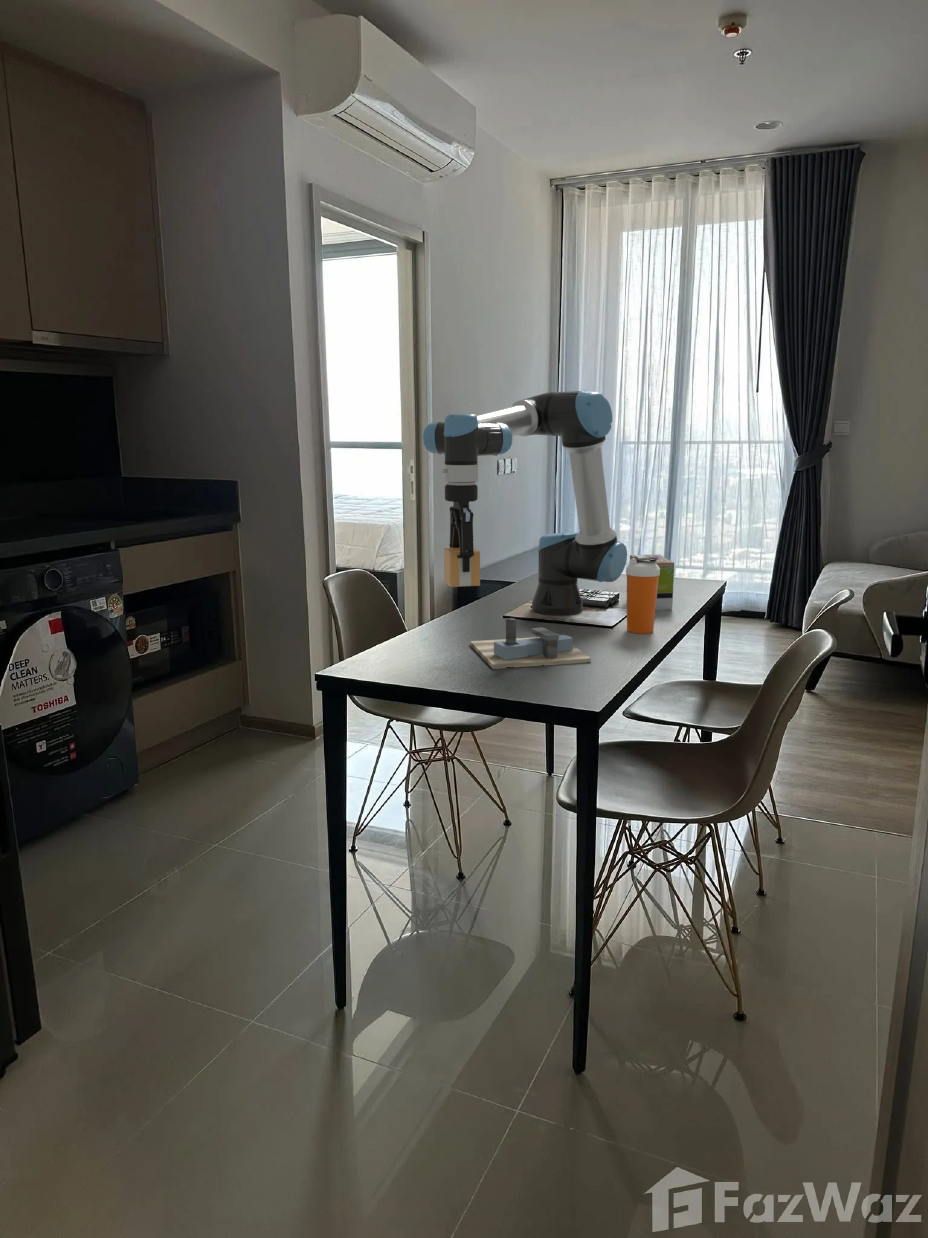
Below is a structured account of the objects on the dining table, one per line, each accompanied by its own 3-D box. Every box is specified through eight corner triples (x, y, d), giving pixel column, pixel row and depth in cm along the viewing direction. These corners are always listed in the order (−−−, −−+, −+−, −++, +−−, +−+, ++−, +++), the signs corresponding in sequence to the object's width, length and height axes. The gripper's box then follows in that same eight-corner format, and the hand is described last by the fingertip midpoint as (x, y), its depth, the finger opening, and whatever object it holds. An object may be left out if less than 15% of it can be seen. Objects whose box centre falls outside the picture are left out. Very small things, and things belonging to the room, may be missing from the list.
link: (505, 660, 204) (505, 647, 204) (493, 653, 210) (493, 641, 209) (574, 651, 212) (575, 639, 212) (562, 645, 218) (562, 633, 217)
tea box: (627, 600, 276) (629, 554, 273) (658, 599, 277) (660, 553, 273) (640, 610, 261) (642, 561, 258) (673, 610, 262) (675, 561, 259)
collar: (444, 581, 207) (443, 548, 205) (473, 580, 209) (472, 546, 207) (450, 587, 201) (450, 552, 199) (480, 585, 202) (480, 551, 200)
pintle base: (470, 645, 222) (470, 606, 220) (559, 639, 228) (560, 602, 225) (492, 668, 202) (493, 626, 199) (590, 662, 207) (592, 621, 205)
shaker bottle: (657, 635, 232) (660, 560, 227) (622, 633, 234) (626, 559, 229) (656, 627, 240) (660, 555, 236) (623, 626, 242) (626, 554, 238)
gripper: (436, 480, 208) (437, 575, 213) (454, 487, 189) (454, 591, 194) (467, 479, 210) (467, 574, 215) (487, 486, 191) (487, 589, 196)
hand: (461, 582), depth 205 cm, fingers closed on collar, 7 cm apart
